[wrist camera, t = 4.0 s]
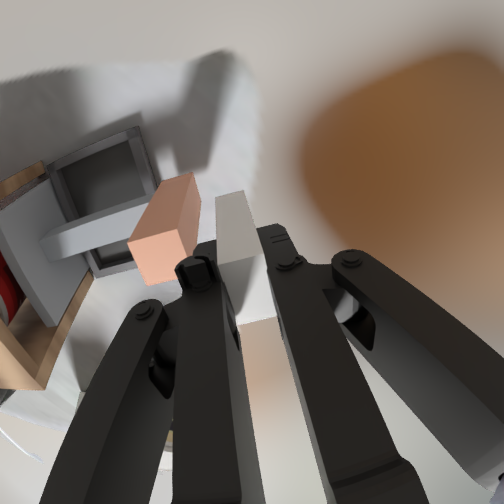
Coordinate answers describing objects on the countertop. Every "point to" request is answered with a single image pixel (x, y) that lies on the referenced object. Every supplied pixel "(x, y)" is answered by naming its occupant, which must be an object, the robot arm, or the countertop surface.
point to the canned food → (9, 293)
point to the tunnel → (33, 323)
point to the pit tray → (104, 189)
